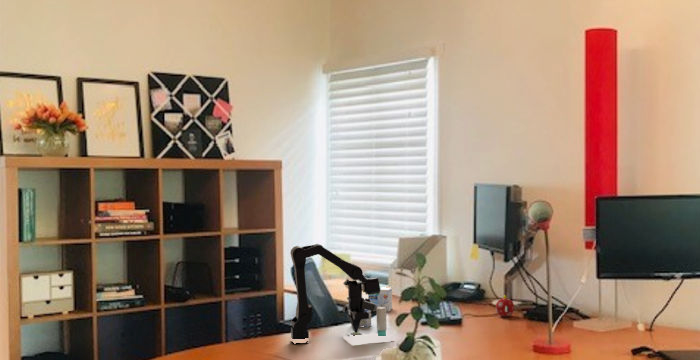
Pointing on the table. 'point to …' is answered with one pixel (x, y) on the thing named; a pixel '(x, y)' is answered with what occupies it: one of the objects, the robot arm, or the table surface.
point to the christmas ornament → (505, 307)
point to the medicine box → (366, 320)
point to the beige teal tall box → (381, 321)
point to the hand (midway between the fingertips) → (356, 332)
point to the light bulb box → (382, 298)
